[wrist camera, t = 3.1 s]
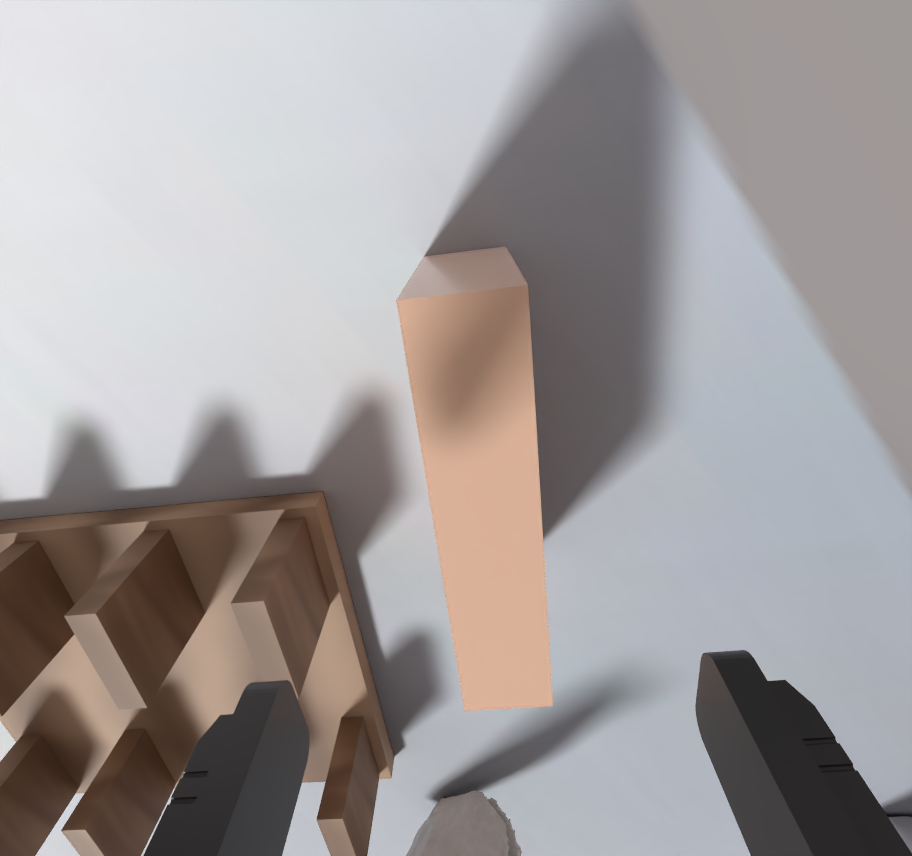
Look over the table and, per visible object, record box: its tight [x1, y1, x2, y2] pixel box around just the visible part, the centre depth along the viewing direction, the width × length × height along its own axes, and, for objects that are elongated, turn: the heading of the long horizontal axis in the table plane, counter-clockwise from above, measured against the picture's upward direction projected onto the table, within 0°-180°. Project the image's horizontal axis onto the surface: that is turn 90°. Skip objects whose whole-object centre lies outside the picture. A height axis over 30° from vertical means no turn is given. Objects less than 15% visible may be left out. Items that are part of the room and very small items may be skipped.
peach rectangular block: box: [396, 246, 553, 711], centre depth 18 cm, size 3×14×8 cm, turn 7°
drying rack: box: [0, 492, 394, 856], centre depth 25 cm, size 21×19×6 cm
